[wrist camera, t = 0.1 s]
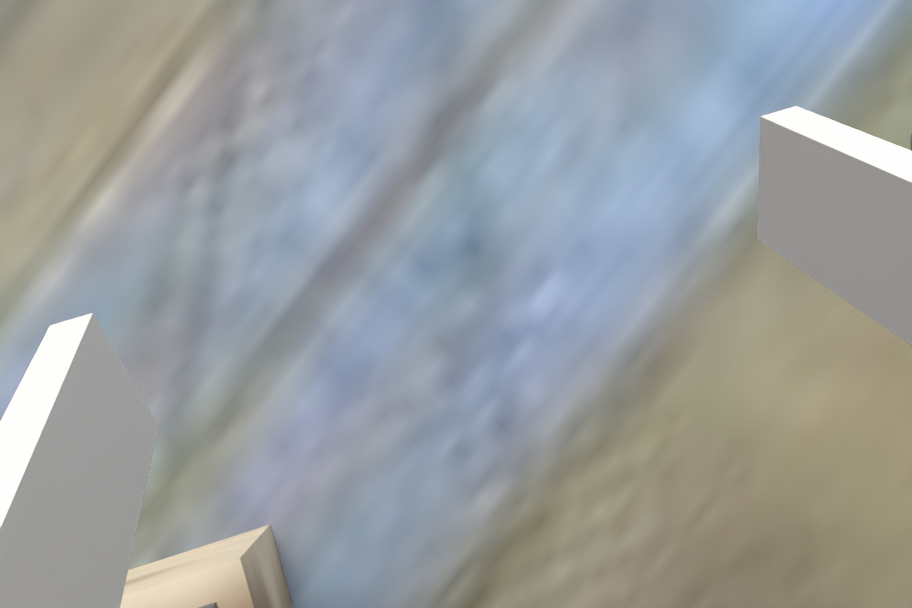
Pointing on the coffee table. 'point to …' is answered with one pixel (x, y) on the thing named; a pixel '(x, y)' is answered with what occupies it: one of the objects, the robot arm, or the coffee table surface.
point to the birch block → (213, 577)
